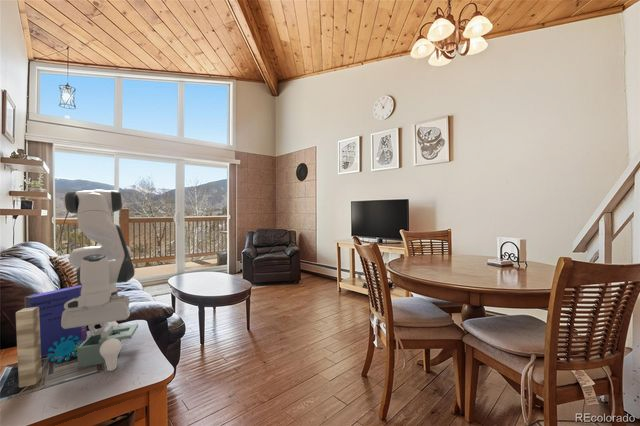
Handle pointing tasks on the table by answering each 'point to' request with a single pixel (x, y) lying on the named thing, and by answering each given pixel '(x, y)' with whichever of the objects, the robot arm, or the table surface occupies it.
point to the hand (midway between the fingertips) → (98, 335)
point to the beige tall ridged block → (28, 346)
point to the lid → (110, 330)
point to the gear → (64, 349)
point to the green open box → (90, 351)
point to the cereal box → (55, 316)
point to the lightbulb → (110, 352)
